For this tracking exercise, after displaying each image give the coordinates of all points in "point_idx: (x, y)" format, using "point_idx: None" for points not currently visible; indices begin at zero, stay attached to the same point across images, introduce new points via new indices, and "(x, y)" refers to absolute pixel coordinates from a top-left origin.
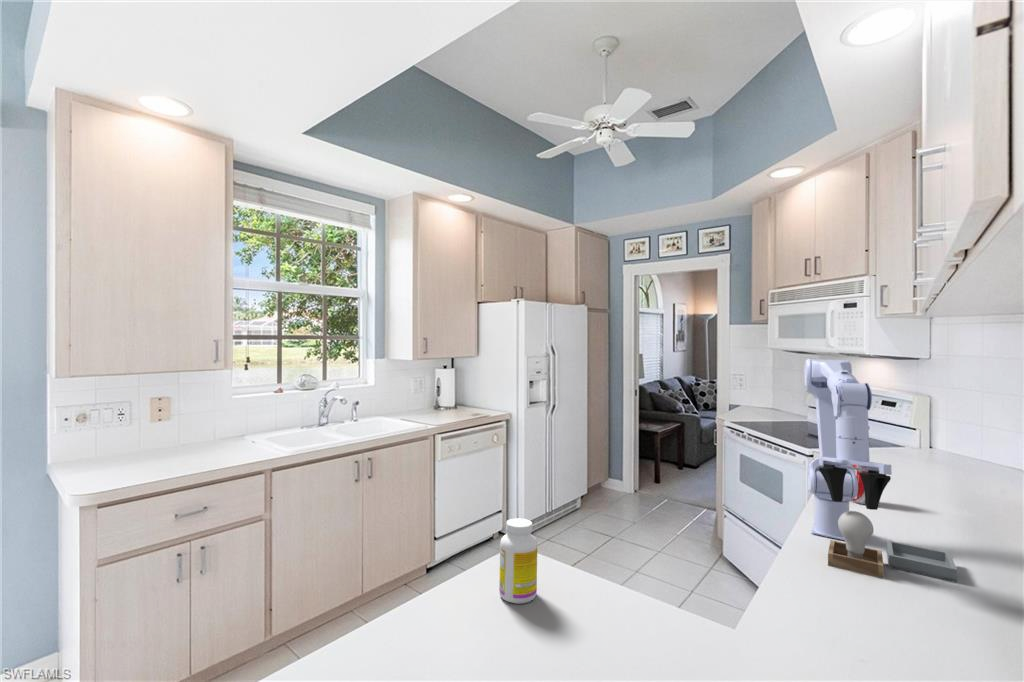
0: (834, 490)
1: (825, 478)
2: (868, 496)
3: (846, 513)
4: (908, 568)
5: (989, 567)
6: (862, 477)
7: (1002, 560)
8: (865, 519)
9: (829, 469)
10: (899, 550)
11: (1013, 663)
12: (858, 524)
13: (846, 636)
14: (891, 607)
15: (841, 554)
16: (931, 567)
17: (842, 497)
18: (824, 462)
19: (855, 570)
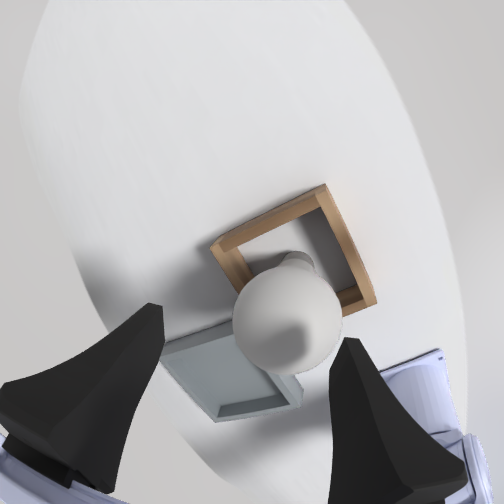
0: (354, 387)
1: (413, 428)
2: (110, 334)
3: (304, 329)
4: (221, 327)
5: (196, 428)
6: (56, 408)
7: (208, 455)
8: (241, 336)
9: (389, 497)
10: (279, 396)
11: (22, 126)
12: (250, 296)
13: None
14: (133, 105)
15: (345, 289)
16: (187, 345)
17: (329, 389)
18: None
19: (267, 212)
